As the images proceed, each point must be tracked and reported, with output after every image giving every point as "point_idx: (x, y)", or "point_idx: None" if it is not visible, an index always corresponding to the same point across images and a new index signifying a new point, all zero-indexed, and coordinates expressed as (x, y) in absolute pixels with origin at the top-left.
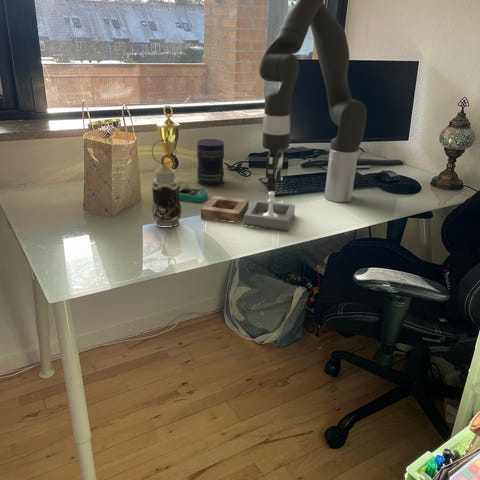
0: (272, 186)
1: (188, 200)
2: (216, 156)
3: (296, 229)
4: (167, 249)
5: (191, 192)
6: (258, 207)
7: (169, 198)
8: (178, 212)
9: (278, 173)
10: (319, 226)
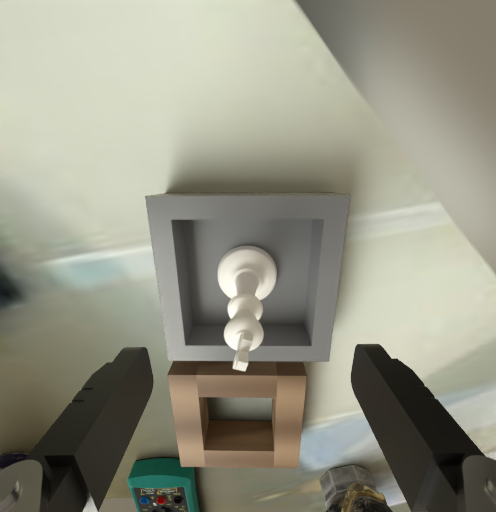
0: (424, 388)
1: (195, 486)
2: None
3: (299, 159)
4: (489, 446)
5: (165, 504)
6: (190, 329)
7: None
8: (372, 510)
9: (109, 422)
10: (239, 58)
